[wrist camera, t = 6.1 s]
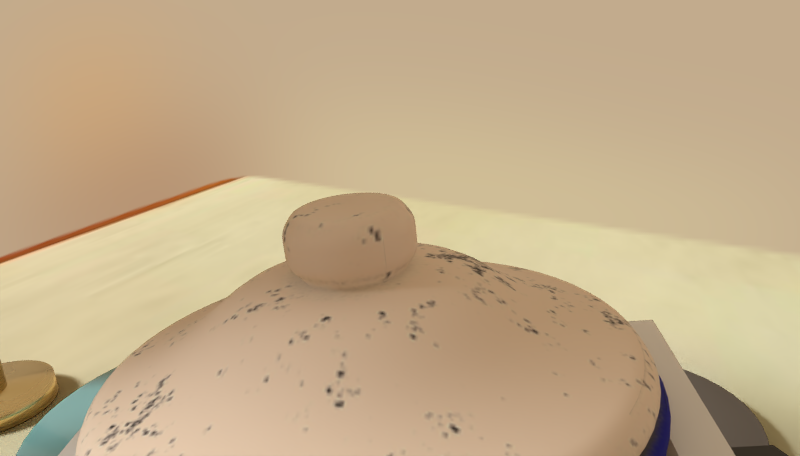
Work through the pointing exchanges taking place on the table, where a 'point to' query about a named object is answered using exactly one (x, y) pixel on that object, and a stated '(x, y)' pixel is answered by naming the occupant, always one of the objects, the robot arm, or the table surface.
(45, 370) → the brass tag sign
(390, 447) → the teacup with lid
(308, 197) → the table surface
